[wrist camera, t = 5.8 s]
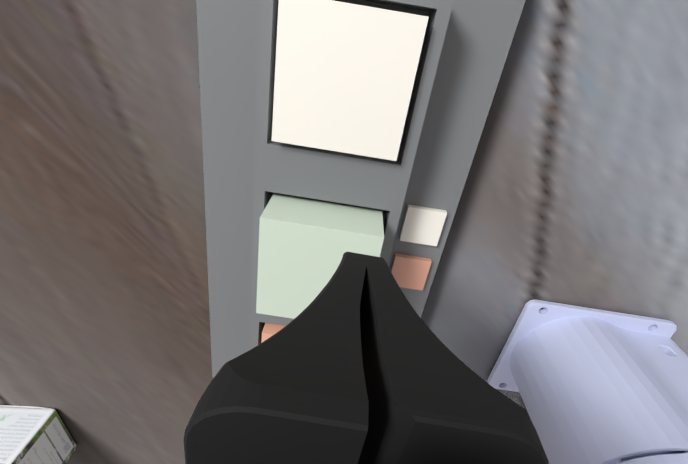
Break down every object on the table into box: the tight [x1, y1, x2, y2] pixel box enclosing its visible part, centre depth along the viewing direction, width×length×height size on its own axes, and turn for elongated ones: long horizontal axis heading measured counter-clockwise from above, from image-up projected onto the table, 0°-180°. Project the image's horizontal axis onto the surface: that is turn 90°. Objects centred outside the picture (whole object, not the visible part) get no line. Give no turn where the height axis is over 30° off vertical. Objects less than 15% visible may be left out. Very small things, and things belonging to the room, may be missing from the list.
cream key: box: [272, 0, 429, 161], centre depth 15 cm, size 5×5×2 cm
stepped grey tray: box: [196, 0, 526, 377], centre depth 20 cm, size 13×26×4 cm, turn 171°
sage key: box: [256, 194, 384, 319], centre depth 17 cm, size 5×5×2 cm
